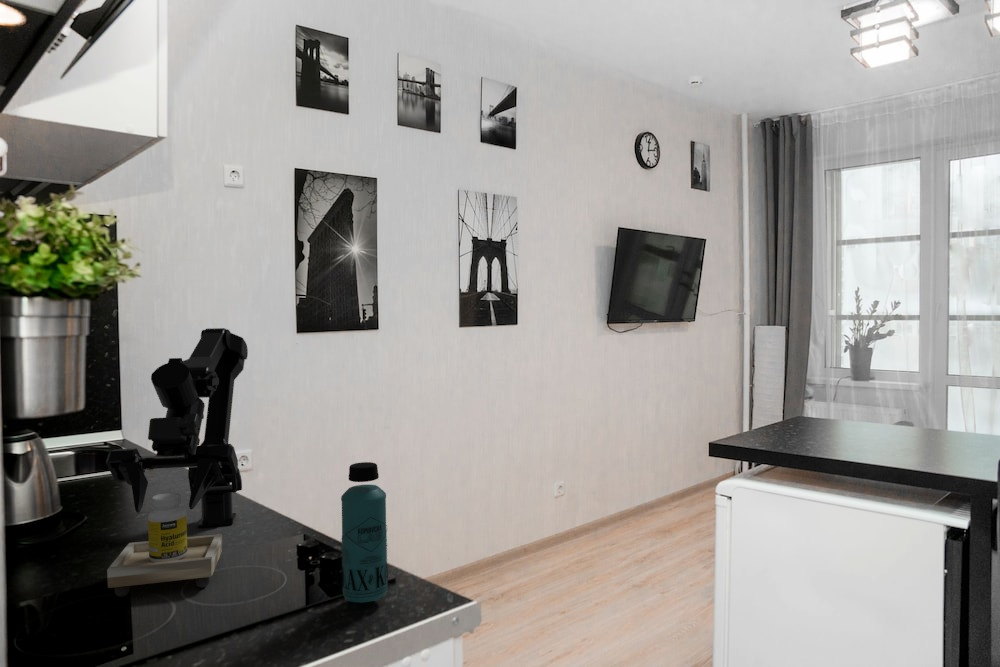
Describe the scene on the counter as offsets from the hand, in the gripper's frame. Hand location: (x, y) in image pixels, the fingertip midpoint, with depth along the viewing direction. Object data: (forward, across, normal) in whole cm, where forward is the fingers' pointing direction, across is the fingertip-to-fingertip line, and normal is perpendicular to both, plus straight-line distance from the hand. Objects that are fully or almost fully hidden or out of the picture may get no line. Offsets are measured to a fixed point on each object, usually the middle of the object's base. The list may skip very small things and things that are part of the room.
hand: (164, 509), depth 105 cm
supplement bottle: (+5, 0, +7) cm, 8 cm away
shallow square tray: (+7, 0, +9) cm, 12 cm away
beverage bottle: (+18, +30, -2) cm, 36 cm away
